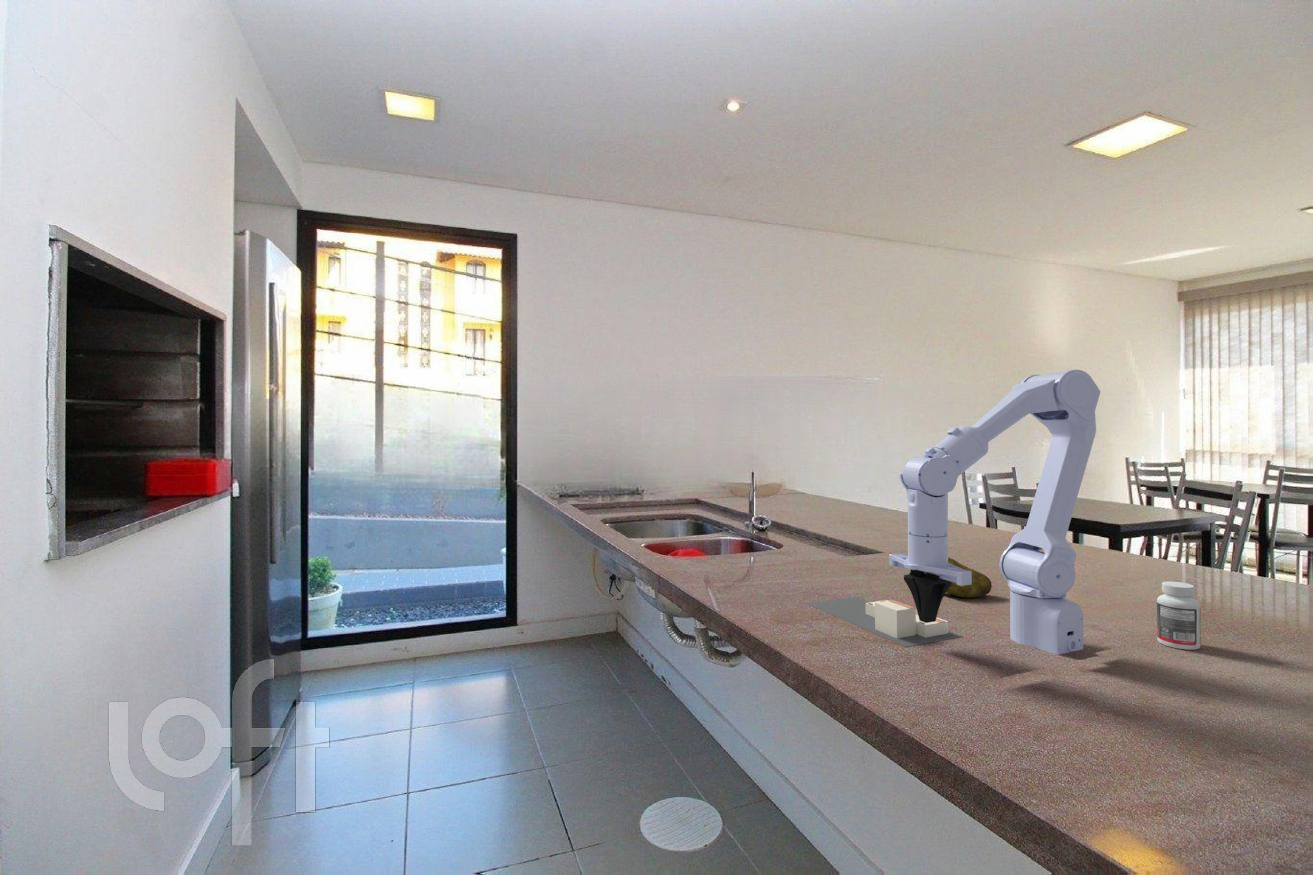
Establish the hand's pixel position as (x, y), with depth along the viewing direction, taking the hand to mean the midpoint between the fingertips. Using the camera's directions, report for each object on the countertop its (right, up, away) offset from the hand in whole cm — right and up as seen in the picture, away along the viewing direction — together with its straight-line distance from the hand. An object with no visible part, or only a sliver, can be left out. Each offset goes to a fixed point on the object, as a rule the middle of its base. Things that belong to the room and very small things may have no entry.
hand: (927, 620), depth 95 cm
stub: (-3, -4, +7) cm, 8 cm away
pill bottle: (+42, -5, +3) cm, 42 cm away
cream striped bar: (+1, -4, +11) cm, 12 cm away
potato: (+21, -5, +33) cm, 40 cm away
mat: (-3, -5, +14) cm, 15 cm away
